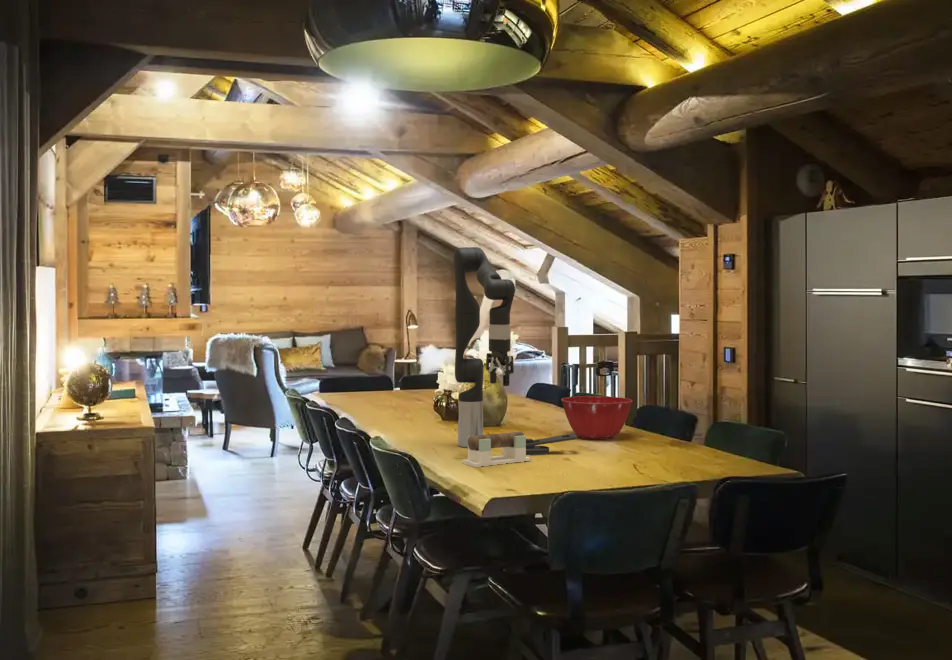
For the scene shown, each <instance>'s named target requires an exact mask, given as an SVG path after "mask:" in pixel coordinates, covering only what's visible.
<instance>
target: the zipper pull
mask: <svg viewBox="0 0 952 660" xmlns="http://www.w3.org/2000/svg"><path fill="white" fill-rule="evenodd" d="M575 440H578V435H577V434H576V433H567V434H561V435H556V436H549V437H545V438H539V439H533V438H526V455H530V456H547V455H550V447H549V446H547V445H549V444H555V443H560V442H567V441H575ZM545 445H546V446H545ZM546 454H547V455H546Z"/></svg>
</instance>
